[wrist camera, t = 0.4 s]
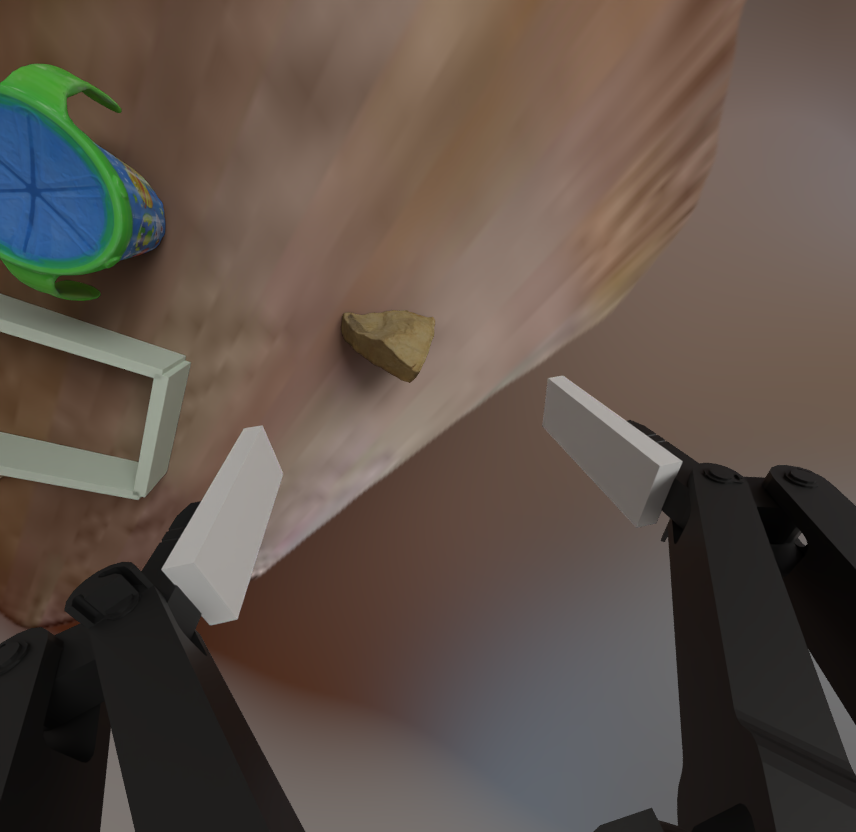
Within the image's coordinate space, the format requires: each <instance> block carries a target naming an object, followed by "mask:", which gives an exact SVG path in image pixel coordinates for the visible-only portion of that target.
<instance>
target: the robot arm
mask: <svg viewBox="0 0 856 832" xmlns="http://www.w3.org/2000/svg"><path fill="white" fill-rule="evenodd" d="M542 426H543V428H544V429H545V430H546V431H547V432H548V433H549V434H550V435H551V436H552V437H553V438H554V439H555V440H556V442H557V443H558V444H559V445H560V446H561V447H562V448H563V449H564V450H565V451H566V452H567V453H568V455H569V456H570V457H571V458H572V459H573V460H574V461H575V462H576V463H577V464H578V465H579V466H580V467H581V469H582V470H583V471H584V472H585V473H586V474H587V475H588V476H589V477H590V478H591V479H592V480H593V481H594V482H595V484H596V485H597V486H598V487H599V488H600V489H601V490H602V491H603V492H604V493H605V494H606V495H607V496H608V498H609V499H610V500H611V501H612V502H613V503H614V504H615V505H616V506H617V507H618V508H619V509H620V511H621V512H622V513H623V514H624V515H625V516H626V517H627V518H628V519H629V520H630V521H631V522H632V523H633V525H634V526H635V527H637V528H638V527H642V526H646V525H651V524H655V523H657V521H658V518H659V516H660V514H661V511H663V512H664V513H665V514H666V515H667V516H669V517H670V520H669V522H668V524H667V527H666V529H665V531H664V533H663V535H662V538H661V541H663V542H665V540H666V538H667V537H668V542H669V556H670V570H671V586H672V601H673V615H674V631H675V645H676V660H677V674H678V689H679V702H680V703H679V704H680V718H681V719H680V720H681V733H682V749H683V768H682V774H681V779H680V782H679V786H678V797H677V815H678V826H676V825H673V824H670V823H666V822H663V821H659V820H658V819H657V818H656V815H655V813H654V811H653V809H652V808H650V809H647V810H644V811H641V812H638V813H635V814H632V815H629V816H627V817H623V818H621V819H617V820H615V821H612V822H609V823H606V824H603V825H600V826H599V827H598V828H597V829H596V830H595V831H594V832H856V775H855V774H854V772H853V770H852V768H851V765H850V763H849V761H848V758H847V755H846V752H845V750H844V747H843V744H842V742H841V739H840V736H839V733H838V730H837V728H836V725H835V722H834V720H833V717H832V714H831V711H830V709H829V706H828V703H827V700H826V698H825V695H824V692H823V689H822V686H821V683H820V681H819V678H818V675H817V672H816V670H815V667H814V664H813V661H812V659H811V656H810V653H809V651H810V652H811V654H812V656H813V657H814V659H815V661H816V662H817V664H818V665H819V667H820V668H821V670H822V672H823V673H824V675H825V676H826V678H827V680H828V681H829V682H830V684H831V686H832V688H833V689H834V691H835V692H836V694H837V696H838V697H839V699H840V700H841V702H842V704H843V705H844V707H845V709H846V710H847V712H848V713H849V715H850V716H851V718H852V720H853V721H854V723H855V725H856V506H855V505H854V504H853V503H852V502H851V501H850V500H848V498H846V497H845V496H844V495H843V494H842V493H841V492H840V491H839V490H838V489H837V488H836V487H834V486H833V485H832V484H831V483H830V482H829V481H827V480H826V479H825V478H823V477H822V476H819V475H818V474H815V473H813V472H812V471H810V470H807V469H803V468H800V467H794V466H788V465H777V466H774V467H772V468H771V469H770V471H769V473H768V474H767V476H766V477H765V478H759V477H743V476H741V475H740V474H739V473H737V472H736V471H734V470H732V469H730V468H728V467H725V466H722V465H718V464H712V463H700V464H699V463H698V462H696V461H695V460H693V459H692V458H690V457H689V456H688V455H686V454H685V453H683V452H682V451H680V450H679V449H677V448H676V447H675V446H673V445H672V444H670V443H669V442H667V441H666V442H665V440H664V439H663V438H661V437H660V436H659V435H656V433H654V432H653V431H651V430H650V429H648V428H647V427H645V426H644V425H641V424H639V423H636V422H634V421H631V420H629V421H626V420H624V419H623V418H621V417H620V416H619V415H617V414H616V413H614V412H613V411H612V410H610V409H609V408H607V407H606V406H605V405H603V404H602V403H600V402H599V401H597V400H596V399H595V398H593V397H592V396H590V395H589V394H588V393H586V392H585V391H584V390H582V389H581V388H580V387H578V386H577V385H575V384H574V383H572V382H571V381H570V380H568V379H567V378H566V377H564V376H558V377H552V378H548V383H547V391H546V400H545V408H544V416H543V425H542ZM282 476H283V472H282V470H281V467H280V465H279V463H278V460H277V458H276V456H275V453H274V451H273V449H272V446H271V444H270V442H269V439H268V437H267V435H266V432H265V430H264V428H263V425H262V426H256V427H250V428H244V429H243V431H242V433H241V434H240V436H239V438H238V440H237V441H236V443H235V445H234V446H233V448H232V450H231V451H230V453H229V455H228V457H227V458H226V460H225V462H224V463H223V465H222V467H221V469H220V470H219V472H218V474H217V475H216V477H215V479H214V480H213V482H212V484H211V486H210V487H209V489H208V491H207V492H206V494H205V496H204V497H203V499H202V501H200V502H195V503H191V504H189V505H188V506H187V507H186V508H185V509H184V510H183V511H182V512H181V513H180V514H179V515H177V517H176V518H175V520H174V521H173V523H172V525H171V526H170V528H169V531H168V532H166V534H165V535H164V537H163V539H162V543H159V545H158V546H157V548H156V550H155V551H154V553H153V554H152V556H151V557H150V559H149V560H148V562H147V564H146V565H145V567H144V568H143V570H142V571H140V570H139V569H138V568H137V567H136V566H135V565H134V564H133V563H131V562H121V563H117V564H113V565H110V566H108V567H106V568H104V569H102V570H100V571H98V572H96V573H95V574H93V575H92V576H91V577H89V578H88V579H86V580H85V581H84V582H83V583H82V584H80V585H79V586H78V587H77V588H76V589H75V590H74V591H73V593H72V594H71V595H70V597H69V598H68V600H67V601H66V605H65V610H64V611H66V612H67V613H68V614H69V615H71V616H72V617H73V618H74V619H76V620H77V621H78V622H80V624H78V625H76V626H74V627H72V628H69V629H68V630H65V631H63V632H61V633H59V634H56V635H53V634H52V633H50V632H49V631H47V630H46V629H44V628H42V627H39V628H31V629H28V630H26V631H23V632H21V633H18V634H16V635H15V636H13V637H11V638H9V639H7V640H6V641H4V642H2V643H1V644H0V832H100V827H101V816H102V806H103V798H104V788H105V779H106V769H107V759H108V750H109V740H110V731H111V729H112V734H113V738H114V742H115V746H116V751H117V755H118V759H119V764H120V768H121V772H122V777H123V781H124V785H125V790H126V794H127V798H128V803H129V807H130V811H131V815H132V820H133V824H134V828H135V832H305V831H304V828H303V827H302V825H301V823H300V821H299V819H298V817H297V816H296V814H295V812H294V810H293V808H292V806H291V804H290V803H289V800H288V799H287V797H286V795H285V793H284V791H283V789H282V787H281V785H280V784H279V782H278V780H277V778H276V776H275V774H274V772H273V770H272V769H271V767H270V765H269V763H268V761H267V759H266V757H265V755H264V754H263V752H262V750H261V748H260V746H259V745H258V742H257V741H256V739H255V737H254V735H253V733H252V731H251V729H250V727H249V726H248V724H247V722H246V720H245V718H244V716H243V715H242V712H241V711H240V709H239V707H238V705H237V703H236V701H235V699H234V698H233V695H232V694H231V692H230V690H229V688H228V686H227V685H226V682H225V681H224V679H223V677H222V675H221V673H220V671H219V669H218V667H217V666H216V664H215V662H214V660H213V658H212V656H211V654H210V653H209V651H208V649H207V647H206V645H205V643H204V641H203V639H202V637H201V636H200V634H199V633H198V632H197V631H196V630H195V629H196V626H197V624H198V622H199V619H200V617H201V616H202V617H203V618H204V619H205V620H206V621H207V622H208V624H210V625H214V624H219V623H223V622H228V621H231V620H236V619H238V615H239V612H240V609H241V606H242V603H243V599H244V596H245V593H246V590H247V587H248V584H249V581H250V578H251V574H252V571H253V568H254V565H255V562H256V559H257V555H258V552H259V549H260V546H261V543H262V540H263V536H264V533H265V530H266V527H267V524H268V521H269V517H270V514H271V511H272V508H273V505H274V502H275V499H276V495H277V492H278V489H279V486H280V483H281V480H282ZM801 533H803V535H804V536H805V538H806V540H807V543H808V544H807V545H806V546H805V545H804V544H802V542H801V541H800V540H799V539H798V537H799V535H800V534H801ZM808 649H809V650H808Z"/></svg>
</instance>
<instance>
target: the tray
mask: <svg viewBox="0 0 856 832" xmlns="http://www.w3.org/2000/svg"><path fill="white" fill-rule="evenodd" d="M0 332H3V333H7V334H10V335H13V336H17V337H20V338H23V339H26V340H30V341H33V342H36V343H40V344H43V345H46V346H50V347H53V348H56V349H59V350H63V351H66V352H69V353H73V354H76V355H79V356H82V357H86V358H89V359H92V360H96V361H99V362H102V363H106V364H109V365H112V366H115V367H119V368H122V369H125V370H129V371H132V372H135V373H139V374H142V375H145V376H148V377H152V378H154V380H153V386H152V391H151V397H150V402H149V408H148V413H147V419H146V424H145V430H144V435H143V441H142V447H141V452H140V458H139V462H136V461H131V460H127V459H122V458H118V457H113V456H109V455H104V454H99V453H95V452H90V451H86V450H81V449H77V448H72V447H67V446H63V445H58V444H54V443H49V442H45V441H40V440H35V439H31V438H26V437H22V436H17V435H13V434H8V433H3V432H0V475H3V476H9V477H14V478H20V479H25V480H31V481H36V482H42V483H47V484H53V485H58V486H64V487H69V488H75V489H80V490H86V491H91V492H97V493H102V494H108V495H113V496H119V497H124V498H130V499H135V500H139V499H140V497H146V496H147V495H148V493H149V492H150V491H151V490H152V489H153V488H154V486H155V485H156V484H157V483H158V482H159V481H160V479H161V478H162V477H163V476H164V475H165V474H166V472H167V469H168V465H169V460H170V456H171V451H172V447H173V442H174V438H175V433H176V429H177V424H178V419H179V415H180V410H181V406H182V401H183V397H184V392H185V388H186V383H187V379H188V374H189V370H190V365H191V362H188V361H185V358H186V356H185V355H182V354H179V353H176V352H173V351H170V350H167V349H164V348H161V347H158V346H155V345H152V344H149V343H146V342H143V341H140V340H137V339H134V338H131V337H128V336H125V335H122V334H119V333H116V332H113V331H110V330H108V329H105V328H102V327H99V326H96V325H93V324H90V323H87V322H84V321H81V320H78V319H75V318H72V317H69V316H66V315H63V314H60V313H57V312H54V311H51V310H48V309H45V308H42V307H39V306H36V305H33V304H30V303H27V302H24V301H21V300H18V299H15V298H12V297H9V296H6V295H3V294H0Z"/></svg>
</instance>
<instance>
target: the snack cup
mask: <svg viewBox="0 0 856 832" xmlns="http://www.w3.org/2000/svg"><path fill="white" fill-rule="evenodd" d="M79 92H83V93H84V94H85V95H87V96H88V97H90V98H91V99H93V100H94V101H96V102H98V103H100V104H101V105H103V106H105V107H107V108H109V109H110V110H112V111H115V112H117V113H121V108H120V107H119V106H118V104H117V103H116V102H115V101H114V100H112V99H111V98H110V97H109V96H108V95H106V94H105V93H104V92H102V91H101V90H99V89H98V88H96V87H94V86H93V85H91V84H89V83H88V82H85V81H83V80H81V79H80V78H78V77H76V76H74V75H72V74H71V73H69V72H68V71H65V70H63V69H61V68H59V67H56V66H53V65H48V64H30V65H27V66H24V67H20V68H19V69H17V70H16V71H13V72H12V73H11V74H10V75H9V76H8V77H7V78H6V79H5V80H4V81H2V82H0V259H1V260H2V261H3V263H4V264H5V266H6V267H7V268H8V270H9V271H10V272H11V273H12V274H13V275H14V276H15V277H16V278H17V279H18V280H19V281H21V282H22V283H24V284H26V285H27V286H29V287H31V288H33V289H35V290H38V291H40V292H44V293H48V294H50V295H52V296H55V297H58V298H62V299H66V300H77V301H79V300H82V301H84V300H92V299H96V298H98V297H99V296H100V295H101V293H100V291H99V290H97V289H96V288H95V287H92V286H90V285H87V284H84V283H80V282H75V281H69V280H65V281H60V282H57V283H55V281H56V280H57V278H58V277H59V276H61V275H82V274H89V273H93V272H97V271H100V270H103V269H105V268H111V267H112V266H114V265H115V264H116V263H118V262H119V261H120V260H124V259H128V258H131V257H135V256H138V255H141V254H143V253H146V252H149V251H151V250H153V249H155V248H156V247H157V246H158V245H159V244H160V241H161V239H162V237H163V236H164V234H165V218H164V209H163V204H162V202H161V201H160V199H159V198H158V197H157V195H156V194H155V192H154V190H153V189H152V188H151V186H150V185H149V184H148V183H147V181H146V180H145V179H144V178H143V177H142V176H141V175H140V174H139V173H137V172H136V171H135V170H134V169H132V168H131V167H130V166H128V165H127V164H125V163H124V162H122V161H121V160H119V159H118V158H116V157H115V156H113V155H112V154H110V153H109V152H107V151H106V150H104V149H103V148H101V147H100V146H98V145H97V144H96V143H94V142H93V141H92V140H91V139H90V138H89V137H88V136H87V135H86V134H85V133H83V132H82V131H81V130H80V129H79V128H78V127H77V126H76V125H75V124H74V123H73V121H72V120H71V119H70V118H69V115H68V111H67V98H68V97H70V96H73V95H75V94H77V93H79Z"/></svg>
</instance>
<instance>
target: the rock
mask: <svg viewBox="0 0 856 832" xmlns="http://www.w3.org/2000/svg"><path fill="white" fill-rule="evenodd" d="M434 323H435V320H434V318H433V317H429V318H427V317H424V316H421V315H417V314H415V313H412V312H408V311H407V310H406V311H395V310H392V311H385V312H383V313H369V314H366V315H359V314H354V313H344V314H343V319H342V325H341V332H342V336H343V337H344V340H345V341H346V342H347V343H349V345H350V346H352V347H353V349H354V350H355V351H356V352H357V353H359V354H361V355H362V356H363V357H364V358H365V359H367V360H369V361H370V362H371V363H373V364H374V365H376V366H378V367H381V368H382V369H384V370H385V371H387V372H389V373H390V374H392V375H394V376H395V377H397V378H399V379H400V380H403V381H406V382H409V383H410V382H412V381H413V380H414V379H415V378H416V377H417V375H418V374H419V372H420V370H421V368H422V366H423V364H424V362H425V360H426V357H427V355H428V352H429V348H430V345H431V342H432V339H433V337H434V326H435V324H434Z"/></svg>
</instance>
